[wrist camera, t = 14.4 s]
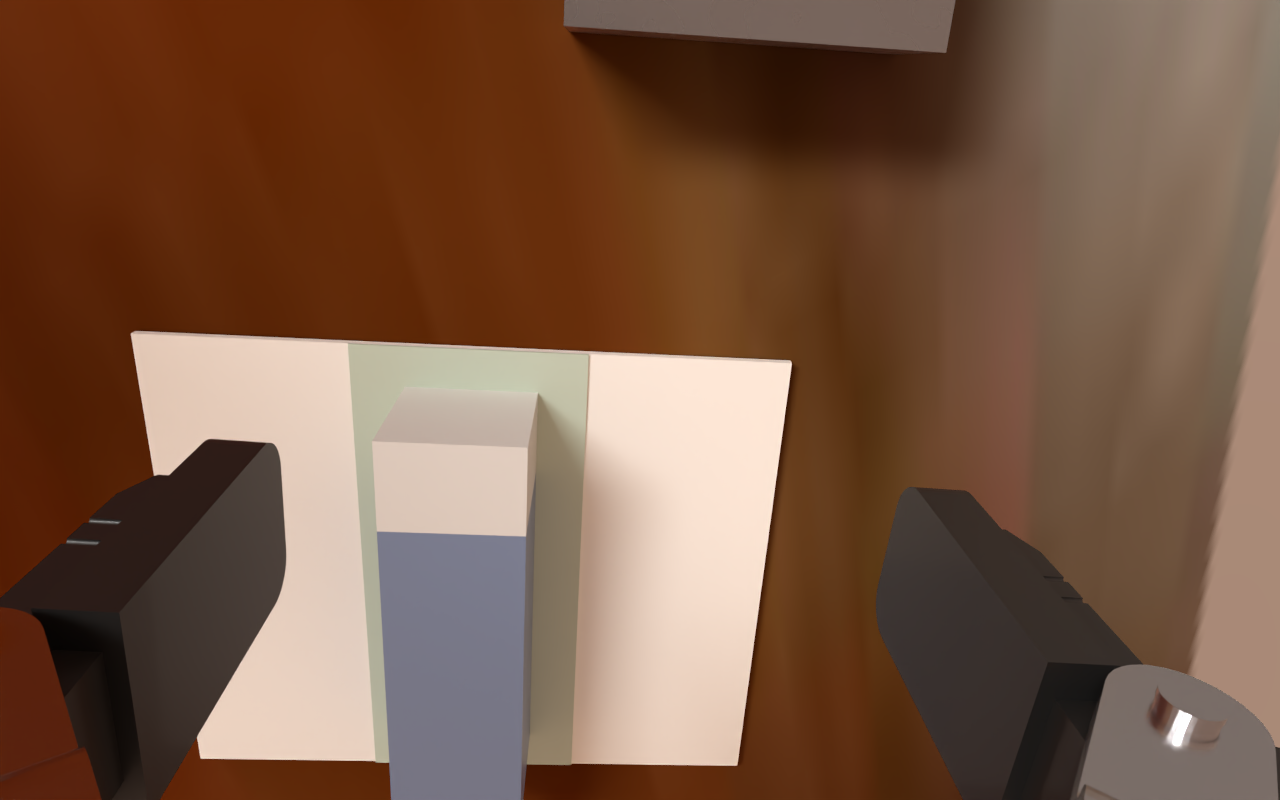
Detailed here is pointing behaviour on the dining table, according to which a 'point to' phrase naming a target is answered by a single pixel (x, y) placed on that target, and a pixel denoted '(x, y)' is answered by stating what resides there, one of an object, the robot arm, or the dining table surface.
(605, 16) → the button housing
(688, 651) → the paper sheet
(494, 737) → the eraser
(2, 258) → the dining table surface
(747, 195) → the dining table surface
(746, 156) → the dining table surface
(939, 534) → the robot arm
